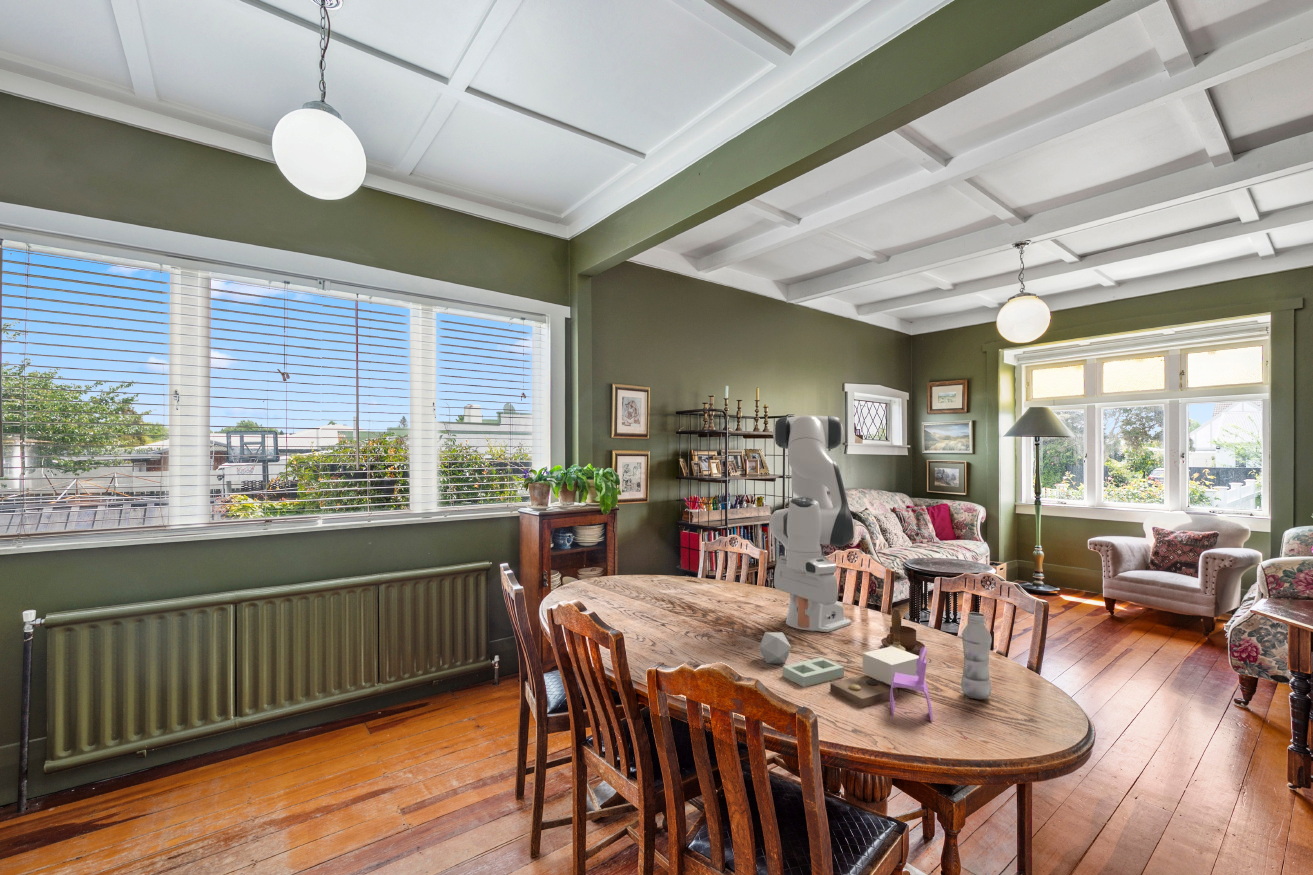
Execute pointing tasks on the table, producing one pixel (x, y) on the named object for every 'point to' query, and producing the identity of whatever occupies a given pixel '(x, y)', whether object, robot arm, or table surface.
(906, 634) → the cup and saucer
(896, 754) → the table surface
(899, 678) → the toy chair
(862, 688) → the pattern board
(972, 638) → the plastic bottle
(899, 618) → the hand bell
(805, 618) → the terracotta peg
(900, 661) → the white block
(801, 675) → the socket board
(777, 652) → the die
